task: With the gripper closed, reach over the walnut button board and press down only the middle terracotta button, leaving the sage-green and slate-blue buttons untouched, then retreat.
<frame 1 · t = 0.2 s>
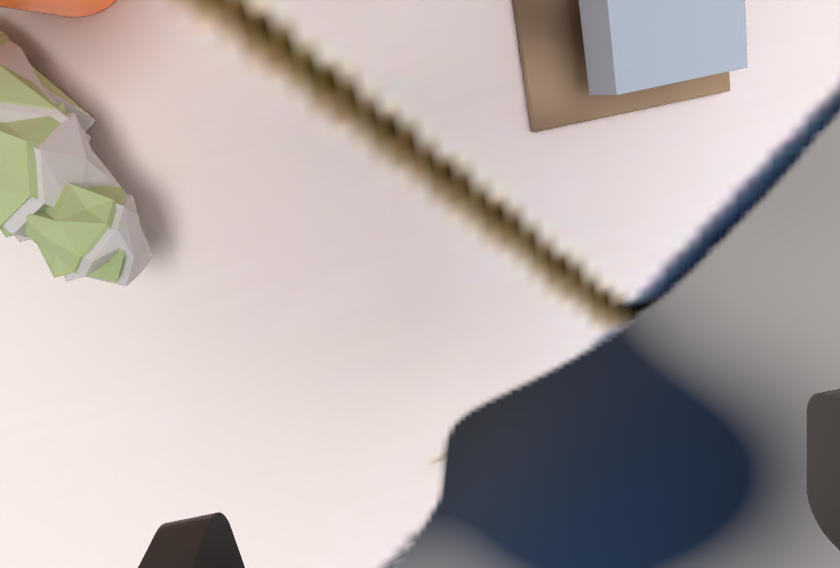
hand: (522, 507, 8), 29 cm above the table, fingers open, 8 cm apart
button slate: (658, 15, 29), point 5 cm above the table, slide at 0.0 cm
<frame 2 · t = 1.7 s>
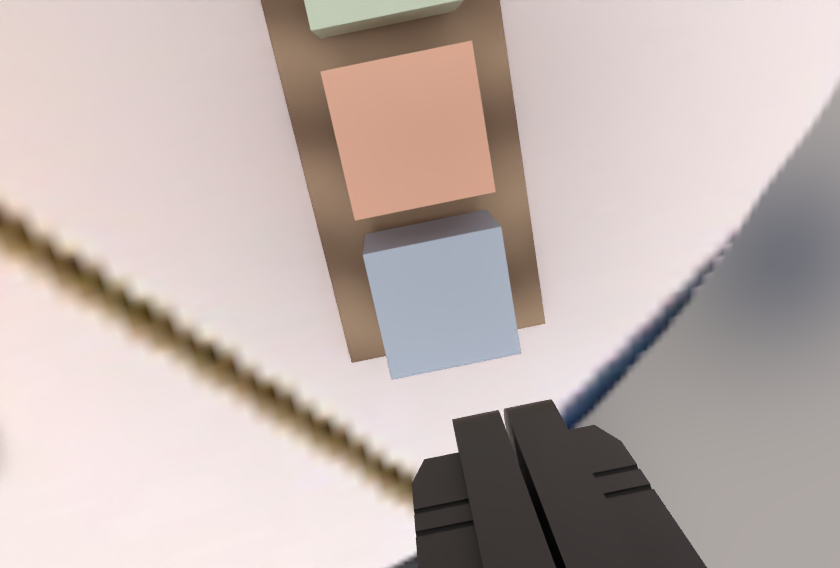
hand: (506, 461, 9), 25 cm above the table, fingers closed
board: (405, 124, 32), on the table
button terracotta: (409, 130, 27), point 5 cm above the table, slide at 0.0 cm
button slate: (440, 291, 29), point 5 cm above the table, slide at 0.0 cm
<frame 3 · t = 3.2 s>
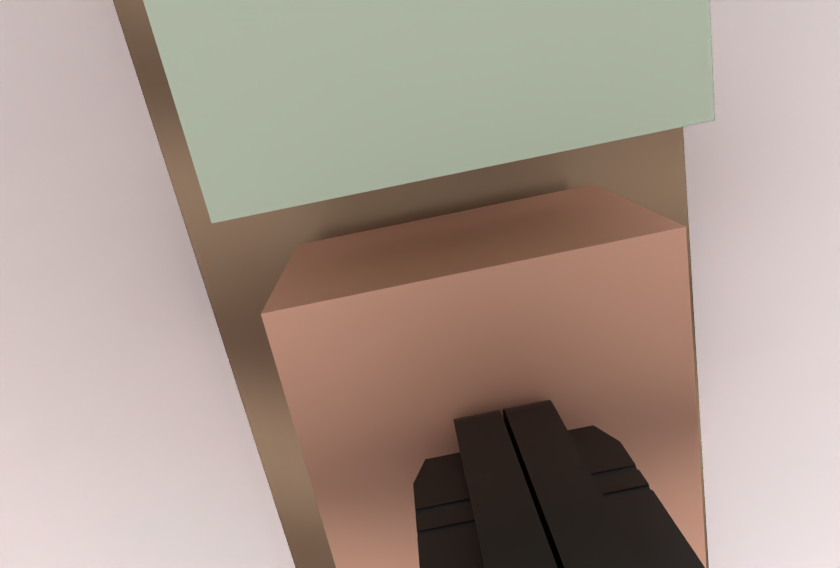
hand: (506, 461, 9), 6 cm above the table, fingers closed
board: (457, 311, 15), on the table
button terracotta: (485, 393, 11), point 4 cm above the table, slide at 0.9 cm, touching gripper
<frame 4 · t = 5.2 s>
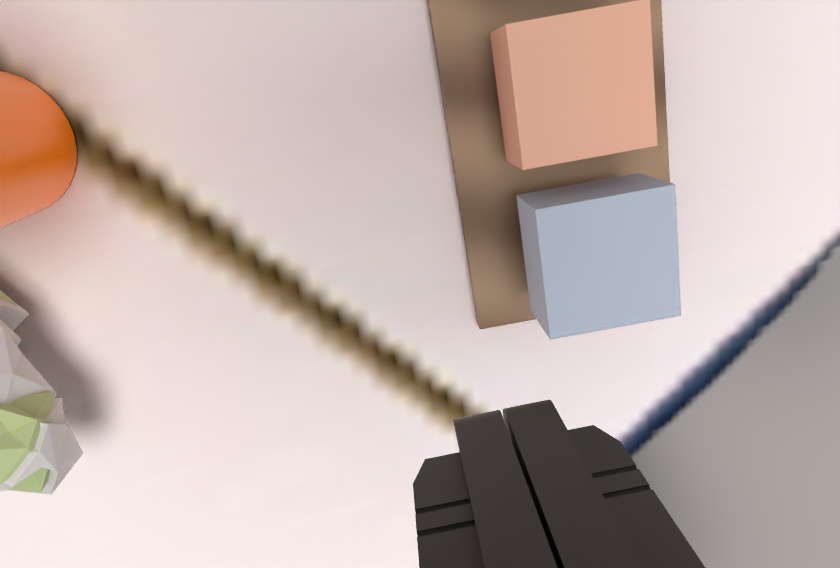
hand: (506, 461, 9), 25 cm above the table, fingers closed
board: (549, 87, 32), on the table
button terracotta: (570, 87, 28), point 4 cm above the table, slide at 1.5 cm
button slate: (595, 253, 29), point 5 cm above the table, slide at 0.0 cm
shaker bottle: (7, 144, 31), on the table
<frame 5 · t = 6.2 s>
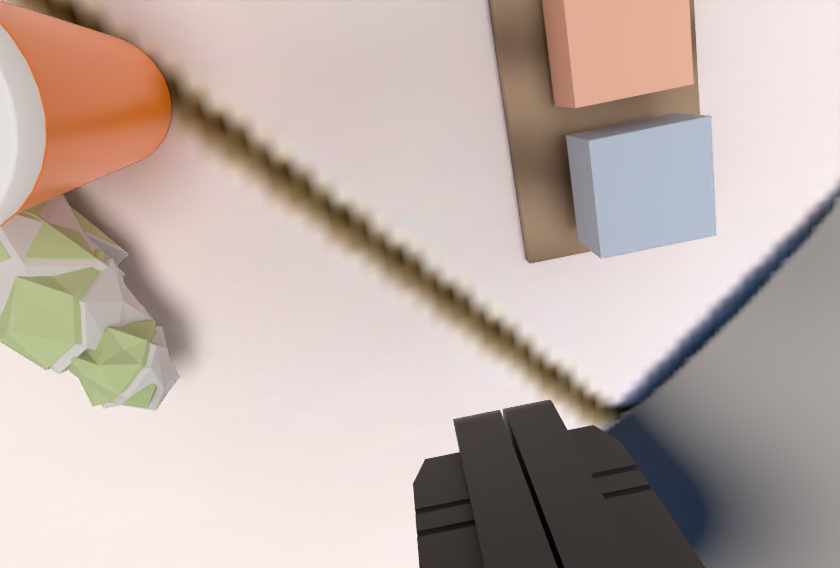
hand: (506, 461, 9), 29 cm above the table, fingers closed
decorative object: (26, 228, 37), on the table
board: (591, 41, 35), on the table
button terracotta: (614, 35, 32), point 4 cm above the table, slide at 1.5 cm
button slate: (638, 183, 33), point 5 cm above the table, slide at 0.0 cm
shaker bottle: (109, 101, 35), on the table
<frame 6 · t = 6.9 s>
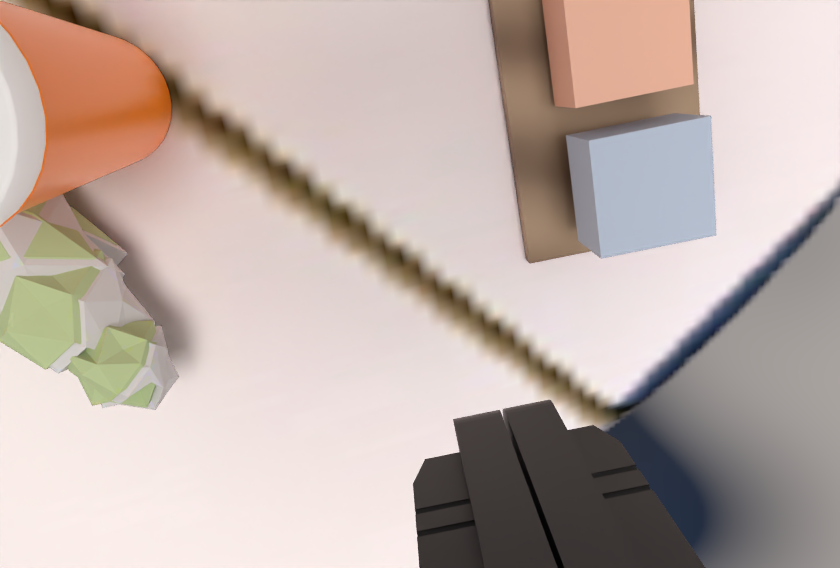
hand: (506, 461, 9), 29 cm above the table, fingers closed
decorative object: (25, 228, 37), on the table
board: (591, 41, 35), on the table
button terracotta: (614, 35, 32), point 4 cm above the table, slide at 1.5 cm
button slate: (638, 183, 33), point 5 cm above the table, slide at 0.0 cm
shaker bottle: (109, 101, 35), on the table
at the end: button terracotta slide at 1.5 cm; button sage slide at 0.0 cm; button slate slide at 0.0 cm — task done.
